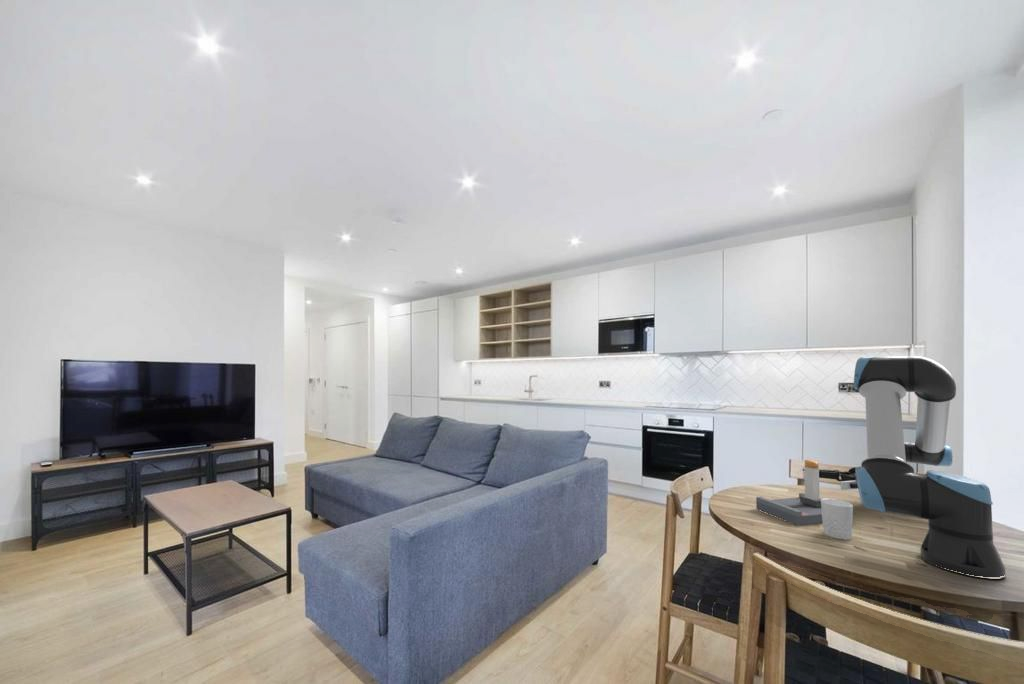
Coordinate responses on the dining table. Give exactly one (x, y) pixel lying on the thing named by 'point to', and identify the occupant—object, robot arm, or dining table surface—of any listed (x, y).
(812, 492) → the breaker handle
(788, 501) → the base
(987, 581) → the dining table surface
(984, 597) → the dining table surface
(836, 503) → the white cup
